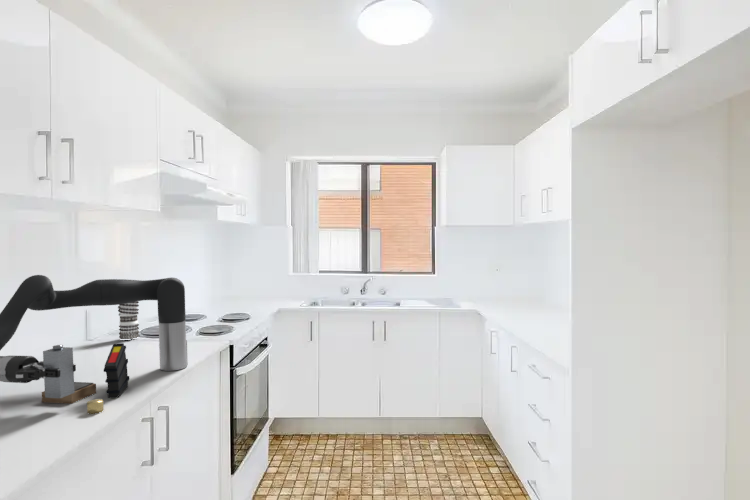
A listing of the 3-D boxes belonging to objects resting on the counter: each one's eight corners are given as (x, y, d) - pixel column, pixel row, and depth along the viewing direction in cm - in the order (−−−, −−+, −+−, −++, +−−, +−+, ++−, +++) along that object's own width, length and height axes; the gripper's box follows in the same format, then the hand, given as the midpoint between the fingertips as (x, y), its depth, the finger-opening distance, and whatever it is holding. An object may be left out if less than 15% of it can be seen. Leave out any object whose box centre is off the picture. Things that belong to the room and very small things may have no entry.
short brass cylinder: (94, 409, 144) (94, 398, 144) (106, 409, 143) (106, 399, 143) (83, 414, 140) (83, 403, 140) (96, 414, 139) (96, 403, 139)
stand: (68, 391, 160) (67, 381, 160) (96, 393, 159) (95, 382, 158) (42, 402, 150) (41, 390, 150) (71, 403, 149) (71, 392, 149)
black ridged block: (131, 379, 167) (125, 342, 161) (122, 408, 156) (114, 370, 149) (119, 380, 167) (112, 343, 160) (109, 409, 155) (101, 370, 148)
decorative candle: (115, 339, 242) (113, 287, 241) (134, 336, 249) (133, 285, 248) (123, 342, 236) (121, 288, 235) (143, 338, 243) (141, 286, 242)
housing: (59, 392, 146) (57, 343, 146) (74, 392, 145) (72, 344, 145) (45, 397, 141) (42, 347, 141) (60, 398, 140) (58, 348, 140)
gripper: (36, 374, 153) (86, 376, 150) (-7, 389, 139) (46, 391, 136) (35, 350, 153) (85, 351, 149) (-9, 362, 138) (45, 363, 135)
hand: (66, 370), depth 143 cm, fingers closed on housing, 5 cm apart
